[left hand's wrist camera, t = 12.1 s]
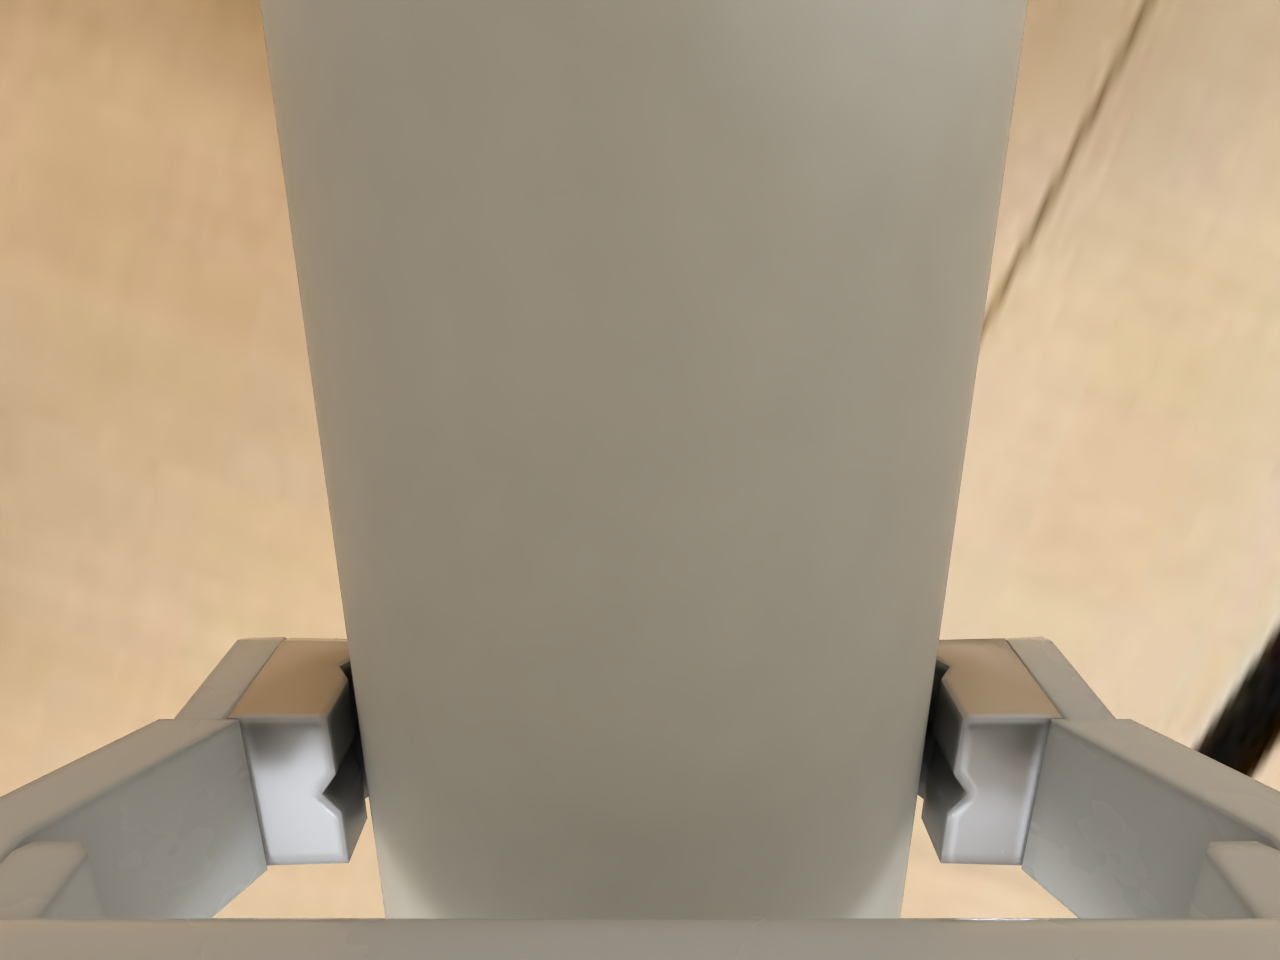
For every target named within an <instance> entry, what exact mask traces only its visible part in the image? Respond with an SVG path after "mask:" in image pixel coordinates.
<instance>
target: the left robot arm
mask: <svg viewBox="0 0 1280 960" xmlns="http://www.w3.org/2000/svg"><path fill="white" fill-rule="evenodd" d="M917 794H918V795H919V796H920V797H922V798H923V799H924V802H923V810H922V820H923V822H924V825H925V827H926V829H927V832H928V834H929V836H930V839H931V841H932V843H933V846H934V848H935V851H936V853H937V855H938V858H939V860H940V862H941V863H958V864H994V865H1022V870H1023V871H1025V872H1026V873H1027V874H1028V875H1029V876H1030V877H1032V878H1033V879H1034V880H1035V881H1036V882H1037V883H1039V884H1040V885H1041V886H1042V887H1043V888H1044V889H1046V890H1047V891H1048V892H1049V893H1050V894H1051V895H1052V896H1054V897H1055V898H1056V899H1057V900H1058V901H1059V902H1061V903H1062V904H1063V905H1064V906H1065V907H1066V908H1068V909H1069V910H1070V911H1071V912H1072V913H1073V914H1075V915H1076V916H1077V917H1078V918H816V919H814V918H813V919H638V918H636V919H635V918H212V917H213V916H214V915H216V914H217V913H218V912H219V911H220V910H221V909H222V908H224V907H225V906H226V905H227V904H228V903H229V902H231V901H232V900H233V899H234V898H235V897H236V896H237V895H239V894H240V893H241V892H242V891H243V890H244V889H246V888H247V887H248V886H249V885H250V884H251V883H252V882H254V881H255V880H256V879H257V878H258V877H259V876H261V875H262V874H263V873H264V872H265V871H266V870H267V865H294V864H329V863H349V861H350V858H351V856H352V853H353V851H354V848H355V846H356V843H357V841H358V839H359V836H360V834H361V831H362V829H363V826H364V824H365V821H366V819H367V813H366V805H365V798H367V797H368V796H369V794H368V786H367V779H366V772H365V764H364V757H363V750H362V743H361V735H360V728H359V721H358V713H357V706H356V699H355V691H354V684H353V677H352V670H351V662H350V655H349V648H348V640H347V639H317V638H289V639H287V638H285V637H272V638H245V639H241V640H238V641H237V642H236V643H235V644H234V645H233V646H232V647H231V649H230V650H229V651H228V652H227V654H226V655H225V656H224V657H223V659H222V660H221V661H220V662H219V664H218V665H217V666H216V667H215V668H214V670H213V671H212V672H211V673H210V675H209V676H208V677H207V678H206V680H205V681H204V682H203V683H202V685H201V686H200V687H199V688H198V690H197V691H196V692H195V693H194V694H193V696H192V697H191V698H190V699H189V701H188V702H187V703H186V704H185V706H184V707H183V708H182V709H181V711H180V712H179V713H178V714H177V716H176V717H175V718H174V719H159V720H157V721H155V722H153V723H151V724H149V725H147V726H145V727H143V728H141V729H139V730H137V731H134V732H132V733H130V734H128V735H126V736H124V737H122V738H120V739H118V740H116V741H114V742H112V743H110V744H108V745H106V746H104V747H102V748H100V749H98V750H96V751H94V752H92V753H90V754H87V755H85V756H83V757H81V758H79V759H77V760H75V761H73V762H71V763H69V764H67V765H65V766H63V767H61V768H59V769H57V770H55V771H53V772H51V773H49V774H47V775H45V776H43V777H41V778H38V779H36V780H34V781H32V782H30V783H28V784H26V785H24V786H22V787H20V788H18V789H16V790H14V791H12V792H10V793H8V794H6V795H4V796H2V797H0V960H1280V792H1279V791H1277V790H1275V789H1273V788H1271V787H1269V786H1267V785H1265V784H1263V783H1260V782H1258V781H1256V780H1254V779H1252V778H1250V777H1248V776H1246V775H1244V774H1242V773H1240V772H1238V771H1236V770H1234V769H1232V768H1230V767H1228V766H1226V765H1223V764H1221V763H1219V762H1217V761H1215V760H1213V759H1211V758H1209V757H1207V756H1205V755H1203V754H1201V753H1199V752H1197V751H1195V750H1193V749H1191V748H1189V747H1186V746H1184V745H1182V744H1180V743H1178V742H1176V741H1174V740H1172V739H1170V738H1168V737H1166V736H1164V735H1162V734H1160V733H1158V732H1156V731H1154V730H1152V729H1149V728H1147V727H1145V726H1143V725H1141V724H1139V723H1137V722H1135V721H1133V720H1131V719H1116V718H1115V717H1114V716H1113V715H1112V713H1111V712H1110V711H1109V710H1108V709H1107V707H1106V706H1105V705H1104V704H1103V702H1102V701H1101V700H1100V699H1099V698H1098V696H1097V695H1096V694H1095V693H1094V692H1093V690H1092V689H1091V688H1090V687H1089V686H1088V684H1087V683H1086V682H1085V681H1084V680H1083V678H1082V677H1081V676H1080V675H1079V673H1078V672H1077V671H1076V670H1075V669H1074V667H1073V666H1072V665H1071V664H1070V663H1069V661H1068V660H1067V659H1066V658H1065V657H1064V655H1063V654H1062V653H1061V652H1060V650H1059V649H1058V648H1057V647H1056V646H1055V644H1054V643H1053V642H1052V641H1050V640H1048V639H1046V638H1044V637H1029V638H1001V639H961V640H939V643H938V650H937V657H936V664H935V671H934V679H933V686H932V693H931V700H930V707H929V715H928V722H927V729H926V736H925V743H924V750H923V758H922V765H921V772H920V779H919V786H918V793H917Z"/></svg>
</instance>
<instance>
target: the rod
mask: <svg viewBox="0 0 1280 960" xmlns="http://www.w3.org/2000/svg"><path fill="white" fill-rule="evenodd" d="M1027 4H1028V0H260V6H261V14H262V21H263V28H264V35H265V43H266V50H267V57H268V65H269V72H270V79H271V86H272V94H273V101H274V108H275V116H276V123H277V130H278V137H279V145H280V152H281V159H282V167H283V174H284V181H285V188H286V196H287V203H288V210H289V218H290V225H291V232H292V240H293V247H294V254H295V261H296V269H297V276H298V283H299V291H300V298H301V305H302V312H303V320H304V327H305V334H306V342H307V349H308V356H309V363H310V371H311V378H312V385H313V393H314V400H315V407H316V414H317V422H318V429H319V436H320V444H321V451H322V458H323V465H324V473H325V480H326V487H327V495H328V502H329V509H330V517H331V524H332V531H333V538H334V546H335V553H336V560H337V568H338V575H339V582H340V589H341V597H342V604H343V611H344V619H345V626H346V633H347V640H348V648H349V655H350V662H351V670H352V677H353V684H354V691H355V699H356V706H357V713H358V721H359V728H360V735H361V743H362V750H363V757H364V764H365V772H366V779H367V786H368V794H369V801H370V808H371V815H372V823H373V830H374V837H375V845H376V852H377V859H378V866H379V874H380V881H381V888H382V896H383V903H384V910H385V917H386V918H635V919H636V918H638V919H813V918H814V919H816V918H900V916H901V908H902V901H903V894H904V887H905V880H906V872H907V865H908V858H909V851H910V844H911V837H912V829H913V822H914V815H915V808H916V801H917V793H918V786H919V779H920V772H921V765H922V758H923V750H924V743H925V736H926V729H927V722H928V715H929V707H930V700H931V693H932V686H933V679H934V671H935V664H936V657H937V650H938V643H939V636H940V628H941V621H942V614H943V607H944V600H945V593H946V585H947V578H948V571H949V564H950V557H951V549H952V542H953V535H954V528H955V521H956V514H957V506H958V499H959V492H960V485H961V478H962V470H963V463H964V456H965V449H966V442H967V435H968V427H969V420H970V413H971V406H972V399H973V392H974V384H975V377H976V370H977V363H978V356H979V348H980V341H981V334H982V327H983V320H984V313H985V305H986V298H987V291H988V284H989V277H990V270H991V262H992V255H993V248H994V241H995V234H996V226H997V219H998V212H999V205H1000V198H1001V191H1002V183H1003V176H1004V169H1005V162H1006V155H1007V147H1008V140H1009V133H1010V126H1011V119H1012V112H1013V104H1014V97H1015V90H1016V83H1017V76H1018V69H1019V61H1020V54H1021V47H1022V40H1023V33H1024V25H1025V18H1026V11H1027Z"/></svg>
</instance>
